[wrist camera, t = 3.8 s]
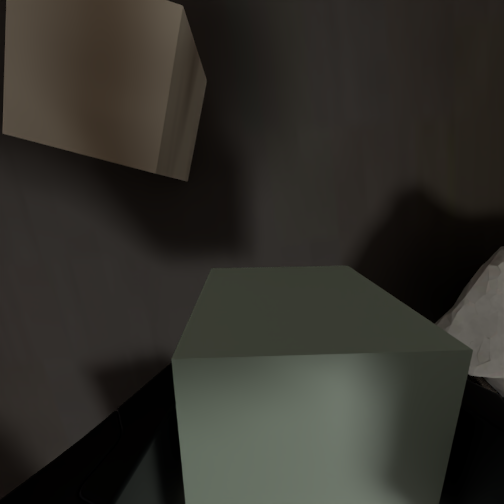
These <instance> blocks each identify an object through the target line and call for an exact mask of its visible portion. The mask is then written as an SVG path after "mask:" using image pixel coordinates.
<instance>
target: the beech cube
mask: <svg viewBox="0 0 504 504" xmlns="http://www.w3.org/2000/svg"><path fill="white" fill-rule="evenodd" d="M206 84H207V79H206V76H205V73H204V70H203V67H202V64H201V60H200V57H199V54H198V51H197V48H196V45H195V42H194V38H193V35H192V32H191V29H190V26H189V23H188V20H187V17H186V13H185V10H184V7H183V5H179V4H176V3H173V2H170V1H167V0H6V30H5V64H4V98H3V132H2V134H6V135H10V136H14V137H18V138H21V139H25V140H29V141H33V142H37V143H41V144H44V145H48V146H52V147H56V148H60V149H63V150H67V151H71V152H75V153H79V154H83V155H86V156H90V157H94V158H98V159H102V160H105V161H109V162H113V163H117V164H121V165H124V166H128V167H132V168H136V169H140V170H144V171H147V172H151V173H155V174H159V175H163V176H167V177H171V178H175V179H179V180H183V181H187V182H188V178H189V173H190V167H191V162H192V157H193V152H194V146H195V141H196V136H197V131H198V126H199V120H200V115H201V110H202V105H203V99H204V94H205V89H206Z"/></svg>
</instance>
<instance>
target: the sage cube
mask: <svg viewBox="0 0 504 504" xmlns="http://www.w3.org/2000/svg"><path fill="white" fill-rule="evenodd" d="M472 353H473V349H471V348H470V347H468V346H467V345H465V344H464V343H462V342H461V341H459V340H458V339H456V338H455V337H453V336H452V335H450V334H449V333H447V332H446V331H444V330H443V329H441V328H440V327H438V326H437V325H435V324H434V323H432V322H431V321H429V320H428V319H426V318H425V317H423V316H422V315H420V314H419V313H418V312H416V311H415V310H413V309H412V308H410V307H409V306H407V305H406V304H404V303H403V302H401V301H400V300H398V299H397V298H395V297H394V296H392V295H391V294H389V293H388V292H386V291H385V290H383V289H382V288H380V287H379V286H377V285H376V284H374V283H373V282H371V281H370V280H368V279H367V278H365V277H364V276H362V275H361V274H360V273H358V272H357V271H355V270H354V269H352V268H351V267H349V266H310V267H258V268H212V269H211V271H210V273H209V275H208V278H207V280H206V282H205V284H204V287H203V289H202V291H201V293H200V296H199V298H198V300H197V302H196V305H195V307H194V309H193V311H192V314H191V316H190V318H189V320H188V323H187V325H186V327H185V330H184V332H183V334H182V336H181V339H180V341H179V343H178V345H177V348H176V350H175V352H174V354H173V357H172V359H171V360H172V370H173V381H174V391H175V401H176V411H177V421H178V432H179V442H180V452H181V462H182V472H183V483H184V493H185V503H186V504H439V501H440V496H441V492H442V488H443V483H444V479H445V474H446V470H447V465H448V461H449V456H450V452H451V447H452V443H453V438H454V434H455V429H456V425H457V420H458V416H459V411H460V407H461V402H462V398H463V393H464V389H465V384H466V380H467V375H468V371H469V366H470V362H471V357H472Z"/></svg>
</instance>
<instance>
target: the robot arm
mask: <svg viewBox="0 0 504 504" xmlns="http://www.w3.org/2000/svg"><path fill="white" fill-rule="evenodd" d="M0 504H186V503H185V493H184V483H183V472H182V462H181V452H180V442H179V432H178V421H177V411H176V401H175V391H174V381H173V370H172V362H171V363H170V364H169V365H168V366H167V367H166V368H164V369H163V370H162V371H161V372H160V373H159V374H157V375H156V376H155V377H154V378H153V379H152V380H150V381H149V382H148V383H147V384H146V385H145V386H143V387H142V388H141V389H140V390H139V391H138V392H136V393H135V394H134V395H133V396H132V397H130V398H129V399H128V400H127V401H126V402H125V403H123V404H122V405H121V406H120V407H119V408H118V409H117V411H114V412H113V413H112V414H110V415H109V416H108V417H107V418H106V419H105V420H103V421H102V422H101V423H100V424H99V425H97V426H96V427H95V428H94V429H93V430H91V431H90V432H89V433H88V434H86V435H85V436H84V437H83V438H82V439H80V440H79V441H78V442H76V443H75V444H74V445H73V446H71V447H70V448H69V449H67V450H66V451H65V452H63V453H62V454H61V455H60V456H58V457H57V458H56V459H54V460H53V461H52V462H50V463H49V464H48V465H46V466H45V467H44V468H42V469H41V470H40V471H38V472H37V473H36V474H34V475H33V476H32V477H30V478H29V479H28V480H26V481H25V482H24V483H22V484H21V485H20V486H18V487H17V488H15V489H14V490H13V491H11V492H10V493H9V494H7V495H6V496H5V497H3V498H2V499H1V500H0ZM439 504H504V397H501V396H500V395H499V394H497V393H494V392H492V391H490V390H488V389H486V388H484V387H482V386H480V385H477V384H475V383H473V382H471V381H469V380H466V384H465V389H464V393H463V398H462V402H461V407H460V411H459V416H458V420H457V425H456V429H455V434H454V438H453V443H452V447H451V452H450V456H449V461H448V465H447V470H446V474H445V479H444V483H443V488H442V492H441V496H440V501H439Z"/></svg>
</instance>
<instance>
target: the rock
mask: <svg viewBox="0 0 504 504" xmlns="http://www.w3.org/2000/svg"><path fill="white" fill-rule="evenodd" d="M435 325H437V326H438V327H440V328H441V329H443V330H444V331H446V332H447V333H449V334H450V335H452V336H453V337H455V338H456V339H458V340H459V341H461V342H462V343H464V344H465V345H467V346H468V347H470V348H471V349H473V353H472V357H471V362H470V366H469V371H468V374H469V375H470V376H480V377H484V378H485V380H486V381H487V382H488V383H489V384H490V385H491V386H492V387H493V388H494V389H495V390H497V391H498V392H499V393H500V395H501V396H502V397H504V246H502V247H500V248H499V249H498V250H497V251H496V252H495V253H494V254H493V255H492V256H491V257H490V259H489V260H488V261H487V262H486V263H484V264H483V265H482V266H481V267H480V268H479V270H478V271H477V272H476V273H475V275H474V276H473V277H472V279H471V280H470V281H469V282H468V284H467V285H466V286H465V288H464V289H463V291H462V292H461V294H460V296H459V297H458V299H457V301H456V302H455V304H454V306H453V307H452V308H451V309H450V310H449V311H448V312H447V313H446V314H444V315H443V316H442V317H441V318H440V319H439V320H438V321H437V322H436V323H435Z"/></svg>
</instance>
